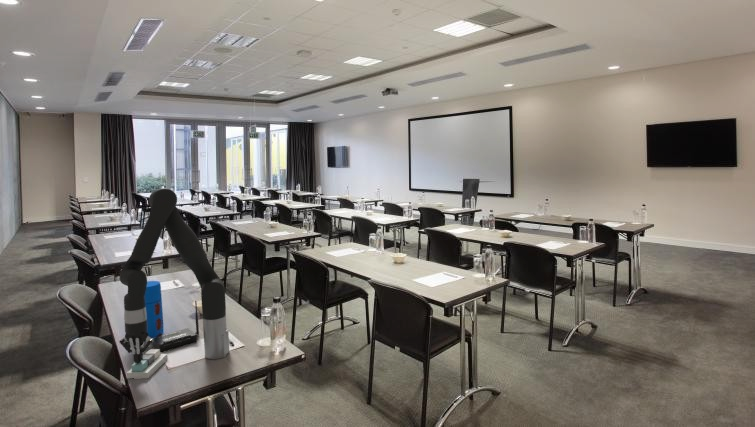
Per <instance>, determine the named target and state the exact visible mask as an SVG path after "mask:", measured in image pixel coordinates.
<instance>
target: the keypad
mask: <svg viewBox="0 0 755 427" xmlns="http://www.w3.org/2000/svg"><path fill="white" fill-rule="evenodd" d="M168 358H169V357H168V353H160V356H159V357H158V358H157V359H156V360H154V362H153V363H152V364H151V365H149V366H148V367H147V368H146V369H145V370H144V371H143V372H132V367H131V368H130V369H129V370H128V371H127V372H126V379H127V378H134V379H133V380H139V379H140V380H145V379H146V380H149V379H150V377H152V375H154V374H155V372H157V370H159V368H160V367H162V366H163V364H165V363H166V362H167V361H168V360H167V359H168ZM166 360H167V361H166ZM165 361H166V362H165Z"/></svg>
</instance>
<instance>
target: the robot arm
mask: <svg viewBox="0 0 755 427" xmlns="http://www.w3.org/2000/svg"><path fill="white" fill-rule="evenodd" d="M177 202H178V197H177V194H176V192H174V191H173V190H172V189H170V188H166V187H165V188H164V187H163V188H162V187H161V188H159V189H155V190H154V191H152V192H151V193H150V194H149V197H148V204H149V206H150V208H151V209H150V212H149V215H148V218H147V221H146V222H145V224H144V226H143V228H142V230H141V232H140V233H139V235H138V236H137V237H138V238H137V239H136V242H135V245H134V246H133V249H132V251H131V255H130V256H129V257H128V259H127V260H126V262H125V264H124V265H123V266H122V268H121V269H120V272H119V273H120V274H119V282H120V283H121V284H123V285H124V286H127V293H126V294H124V296H123V308H124V312H123V320H124V332H125V335H124V337H123V338H122V339H120V340H119V341H118V342H119V344H120V345H121V346H122V347H123V348H124V349H125V351H127V353H129V354H130V353H132V356H133V357H132V358H133V361H134V363H140V362H141V361H142V360H143V355H144V354H145V353H146V352H147V351H148V349H149V348H150V347H151V346H152V343H153V341H154V340H155V339H154V338H150V337H149V335H148V333H147V313H146V308H145V292H146V287H147V281H148V276H147V273H145V271H144V270H142V269H143V267H144V265H147V264H149V263H150V262H151V260H152V258H153V256H154V255H153V254H154V253H155V250H156V247H157V244H158V241H159V239H160V236H161V234H162V231H163V229H164V228H165V230H166V232H167V234H168V236H169V239H170V240H171V242H172V244H173V246H174V248H175V250H176V251H177V253H178V255H179V256H180V258H181V260H182V261H183V262H184V263H185V265H186V266H187V267H188V268H189V269H190V270H191V272H192V273H193V274H194V276H195V278H196V280H197V282H198V285H199V287H200V291H201V292H200V295H201V296H200V297H201V313H202V328H203V329H202V330H203V331H202V332H203V343H204V344H203V345H204V358H206V359H207V360H217V359H222V358H226V357H227V355H228V354H229V352H230V337H229V330H227V315H226V314H227V313H226V312H227V310H226V309H227V307H226V289H225V284H224V282H223V280H222V279H221V278H220V277H219V275H218V273H217V272H216V271H215V270H214V268H213V267H212V266H211V263H210V261H209V258H208V256H207V254H206V251H205V249H204V247H203V245H202V243H201V241H200V240H199V238H198V236H197V234H196V233H195V232H194V230H193V229H192V228H191V227H190V226H189V224H188V223H187V222H186V221H185V220H184V218H183V217H182V215H181V214H180V212H179V210H178V207H177ZM145 343H146V344H145ZM144 344H145V345H144ZM143 353H144V354H143Z"/></svg>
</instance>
